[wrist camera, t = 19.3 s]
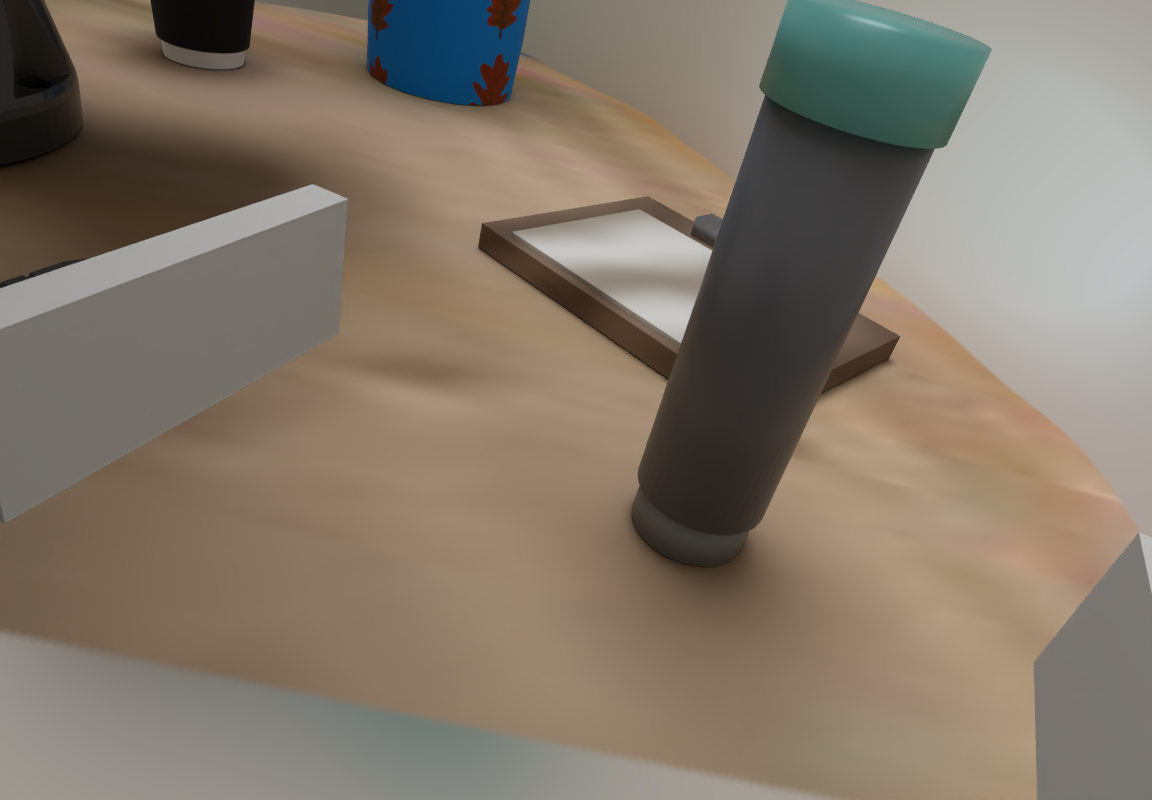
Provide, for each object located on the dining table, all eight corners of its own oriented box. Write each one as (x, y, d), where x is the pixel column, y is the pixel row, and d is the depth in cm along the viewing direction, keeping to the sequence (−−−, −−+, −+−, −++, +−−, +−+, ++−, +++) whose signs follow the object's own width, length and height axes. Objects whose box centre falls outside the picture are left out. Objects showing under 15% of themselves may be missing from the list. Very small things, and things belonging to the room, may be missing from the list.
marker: (590, 506, 26) (751, -16, 18) (678, 462, 29) (851, -5, 21) (698, 599, 24) (939, 50, 15) (781, 540, 27) (1021, 52, 18)
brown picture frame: (478, 247, 39) (485, 202, 38) (642, 216, 47) (652, 179, 46) (745, 432, 31) (765, 384, 30) (889, 358, 39) (909, 317, 38)
